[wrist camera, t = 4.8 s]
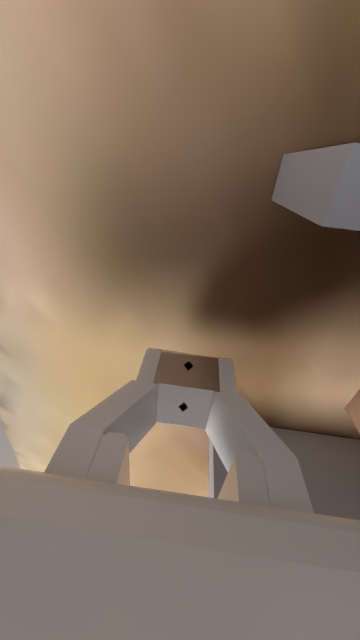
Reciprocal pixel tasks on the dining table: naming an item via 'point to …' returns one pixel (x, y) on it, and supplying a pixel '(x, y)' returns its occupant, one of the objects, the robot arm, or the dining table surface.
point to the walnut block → (354, 410)
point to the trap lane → (336, 212)
